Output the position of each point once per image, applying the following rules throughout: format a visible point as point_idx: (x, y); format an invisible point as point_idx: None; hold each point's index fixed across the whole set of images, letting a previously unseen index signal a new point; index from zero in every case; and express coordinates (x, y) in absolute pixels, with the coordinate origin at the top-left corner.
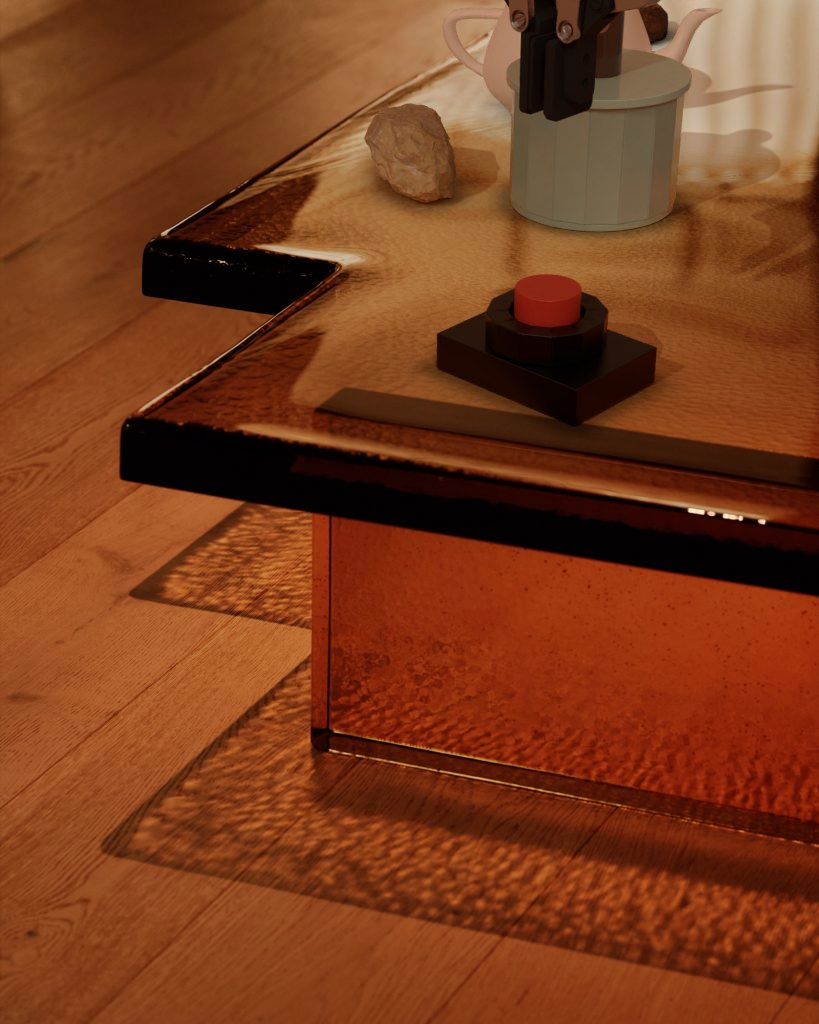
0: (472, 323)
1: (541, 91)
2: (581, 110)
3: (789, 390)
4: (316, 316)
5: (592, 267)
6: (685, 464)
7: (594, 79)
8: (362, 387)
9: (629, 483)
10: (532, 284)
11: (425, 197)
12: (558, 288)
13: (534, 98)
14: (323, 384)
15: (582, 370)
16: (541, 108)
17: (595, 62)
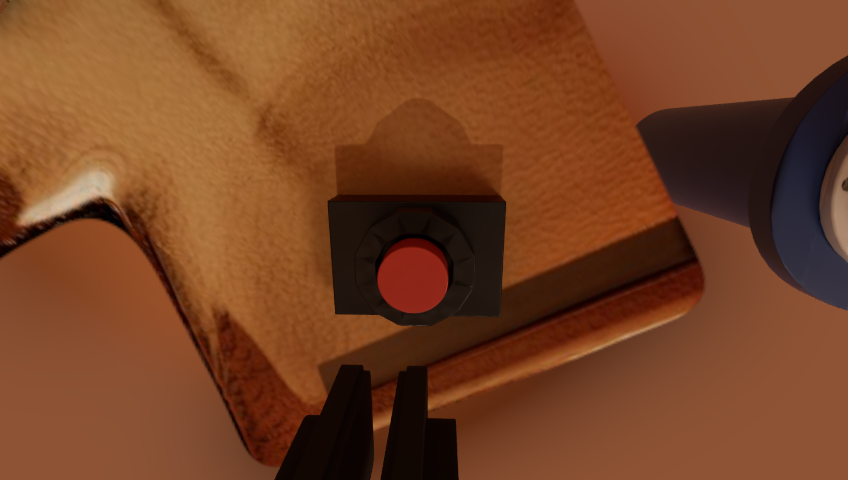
0: (342, 278)
1: (366, 465)
2: (427, 392)
3: (607, 118)
4: (194, 294)
5: (277, 5)
6: (598, 290)
7: (456, 441)
8: (326, 357)
9: (578, 338)
10: (396, 287)
11: (3, 5)
12: (422, 276)
13: (369, 474)
14: (302, 372)
15: (481, 286)
16: (372, 437)
17: (456, 472)
